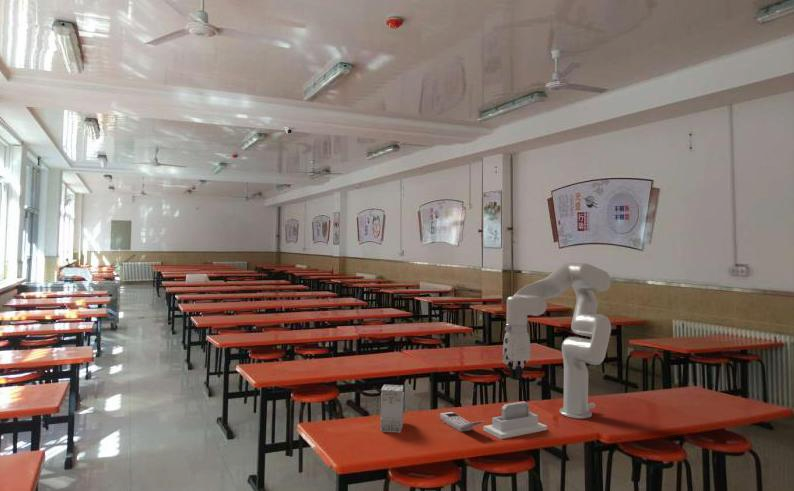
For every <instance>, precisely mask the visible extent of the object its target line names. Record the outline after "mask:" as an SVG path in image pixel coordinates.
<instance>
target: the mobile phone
mask: <svg viewBox="0 0 794 491" xmlns="http://www.w3.org/2000/svg"><path fill="white" fill-rule="evenodd" d="M439 419H440V420H441V421H442V422H443V423H446V424H447V425H448V426H450V427H452V428H453V429H455V430H457V431H458V432H460V433H461V432H468V431H472V429H473V427H474V426H477V425H480V424H483V423H484V422H485V421H484V420H482V421H475V422H474V421H472V422H470V421H469V420H466V419H465V418H464V417H462V416H460V415H459V414H457V413H456V412H452V411H447V412H441V413H439Z"/></svg>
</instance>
